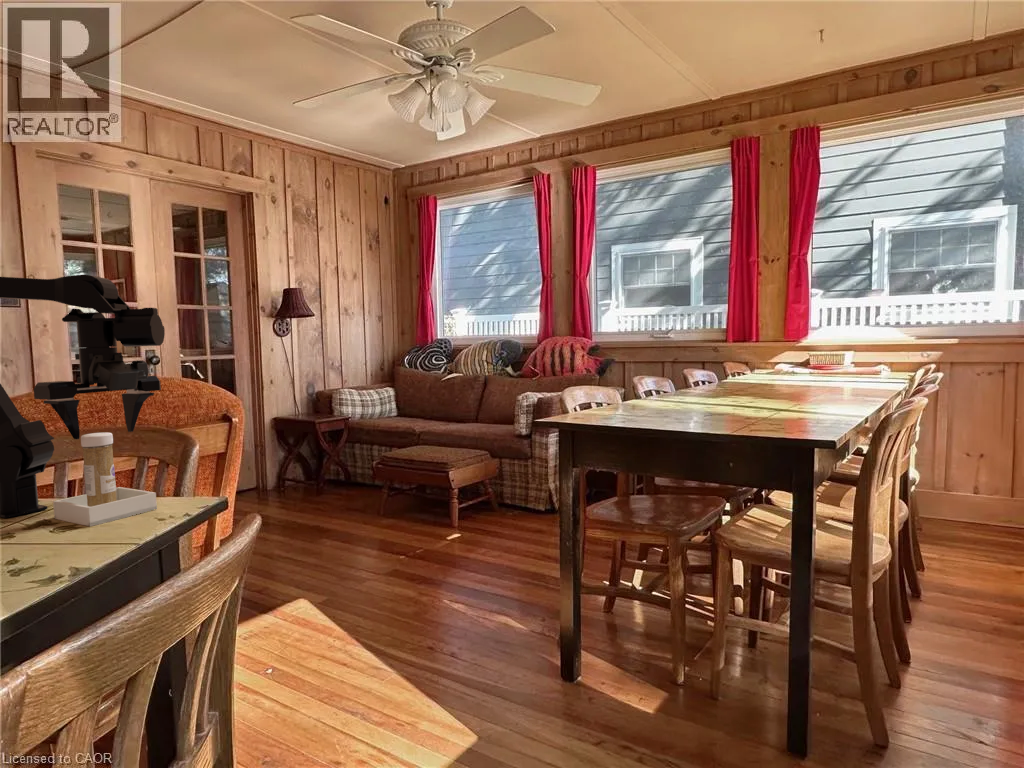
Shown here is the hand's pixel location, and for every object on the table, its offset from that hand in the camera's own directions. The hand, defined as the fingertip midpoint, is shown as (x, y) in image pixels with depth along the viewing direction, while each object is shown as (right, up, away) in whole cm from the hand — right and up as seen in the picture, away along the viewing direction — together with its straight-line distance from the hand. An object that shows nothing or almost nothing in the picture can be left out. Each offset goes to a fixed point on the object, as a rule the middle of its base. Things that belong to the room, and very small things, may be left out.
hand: (104, 435), depth 113 cm
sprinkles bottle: (+3, -13, -5) cm, 14 cm away
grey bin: (+3, -13, -4) cm, 14 cm away
